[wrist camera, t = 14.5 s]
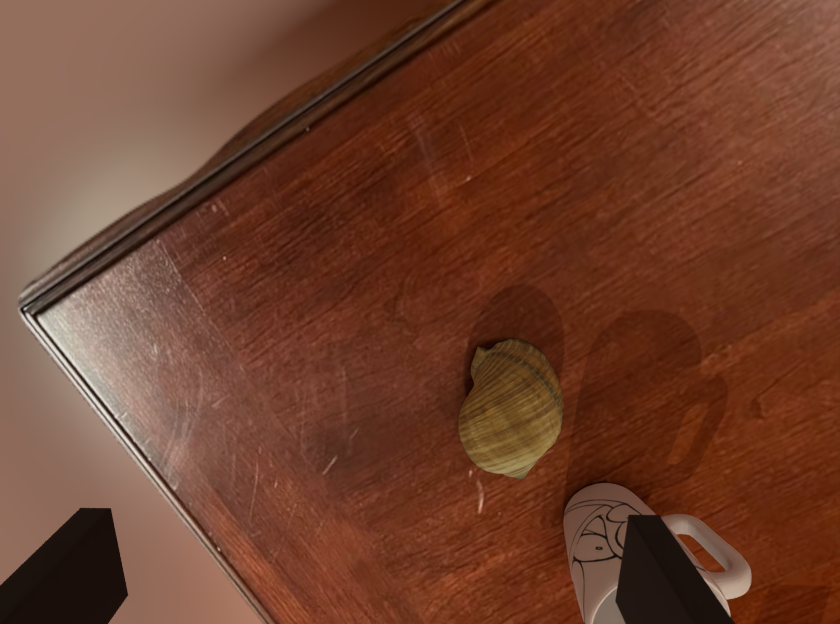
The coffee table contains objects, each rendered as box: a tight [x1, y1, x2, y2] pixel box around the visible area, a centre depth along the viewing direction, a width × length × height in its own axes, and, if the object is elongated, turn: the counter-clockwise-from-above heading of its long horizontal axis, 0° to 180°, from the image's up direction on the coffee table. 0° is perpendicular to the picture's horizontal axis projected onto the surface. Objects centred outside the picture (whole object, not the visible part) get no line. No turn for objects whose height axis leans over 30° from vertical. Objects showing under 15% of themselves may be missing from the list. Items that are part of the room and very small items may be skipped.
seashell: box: [458, 339, 564, 480], centre depth 33 cm, size 10×7×8 cm
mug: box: [563, 483, 751, 624], centre depth 33 cm, size 11×8×10 cm
